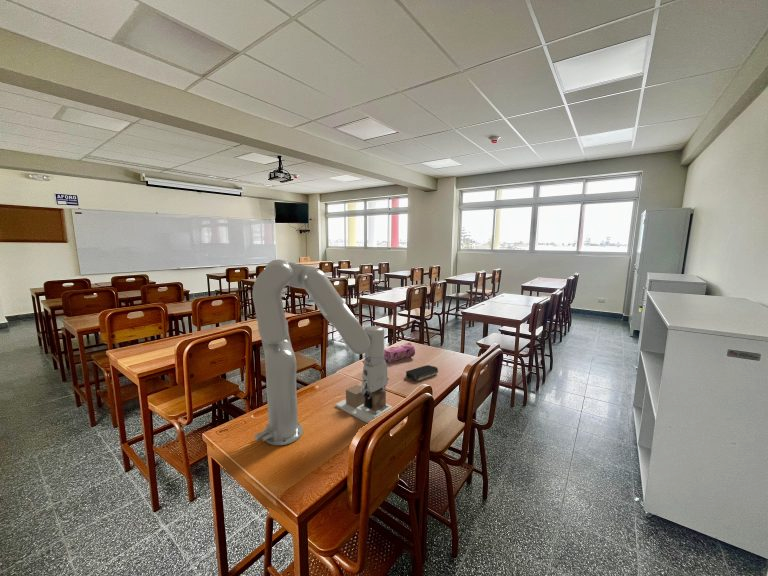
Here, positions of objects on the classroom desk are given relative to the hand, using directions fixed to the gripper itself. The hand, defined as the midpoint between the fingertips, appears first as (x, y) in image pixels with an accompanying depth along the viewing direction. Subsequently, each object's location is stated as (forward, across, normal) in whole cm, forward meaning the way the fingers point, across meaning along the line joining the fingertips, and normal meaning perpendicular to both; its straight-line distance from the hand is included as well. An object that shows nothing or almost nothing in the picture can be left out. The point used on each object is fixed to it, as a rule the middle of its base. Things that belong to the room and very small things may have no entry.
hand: (374, 403), depth 118 cm
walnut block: (+1, 0, 0) cm, 1 cm away
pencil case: (+5, +50, +29) cm, 58 cm away
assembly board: (+5, 0, +5) cm, 7 cm away
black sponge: (+5, +42, +6) cm, 43 cm away
